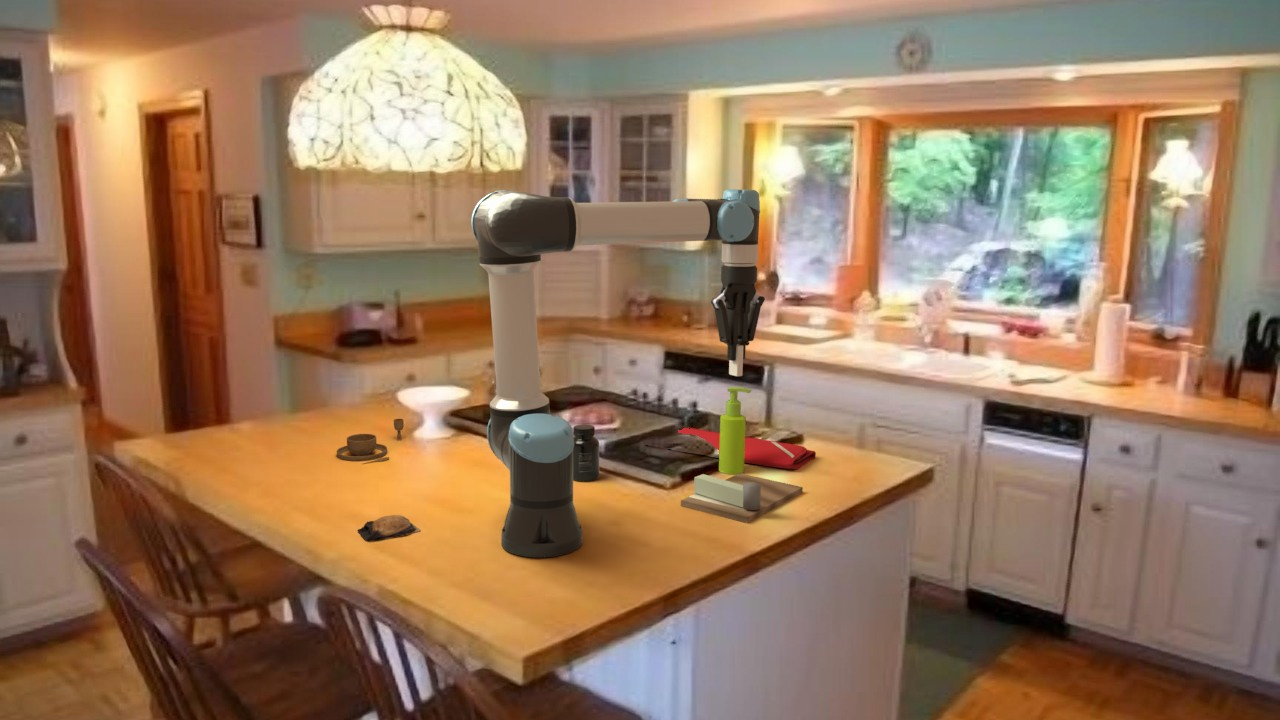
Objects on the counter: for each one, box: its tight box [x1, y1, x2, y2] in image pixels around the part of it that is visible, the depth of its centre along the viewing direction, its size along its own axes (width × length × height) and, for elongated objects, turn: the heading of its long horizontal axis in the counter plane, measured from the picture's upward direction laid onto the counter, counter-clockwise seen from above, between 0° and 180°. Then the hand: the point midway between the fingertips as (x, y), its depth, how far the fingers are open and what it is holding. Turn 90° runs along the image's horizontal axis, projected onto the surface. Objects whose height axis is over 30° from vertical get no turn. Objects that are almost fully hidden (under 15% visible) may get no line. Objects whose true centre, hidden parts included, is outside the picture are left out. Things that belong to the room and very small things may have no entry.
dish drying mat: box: [678, 427, 817, 470], centre depth 237 cm, size 16×41×4 cm, turn 58°
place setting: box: [336, 418, 405, 465], centre depth 233 cm, size 18×20×6 cm
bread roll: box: [357, 514, 421, 543], centre depth 181 cm, size 11×8×4 cm
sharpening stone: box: [693, 473, 761, 510], centre depth 197 cm, size 16×4×5 cm, turn 47°
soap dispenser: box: [718, 386, 752, 475], centre depth 220 cm, size 6×7×20 cm
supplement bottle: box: [573, 423, 600, 482], centre depth 214 cm, size 7×7×12 cm
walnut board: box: [680, 473, 804, 524], centre depth 202 cm, size 24×16×1 cm, turn 143°
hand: (735, 374), depth 201 cm, fingers closed
